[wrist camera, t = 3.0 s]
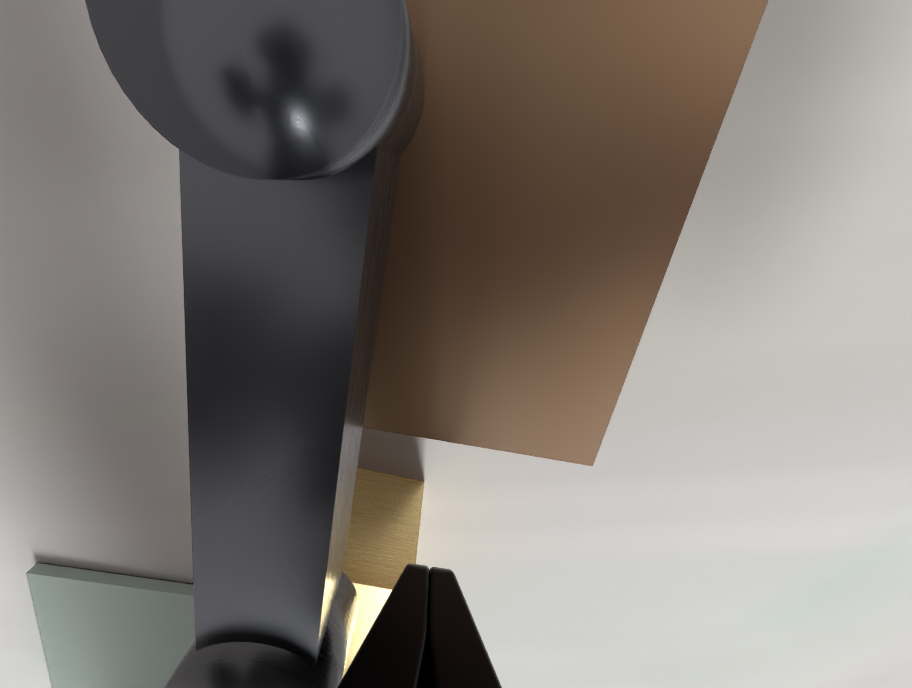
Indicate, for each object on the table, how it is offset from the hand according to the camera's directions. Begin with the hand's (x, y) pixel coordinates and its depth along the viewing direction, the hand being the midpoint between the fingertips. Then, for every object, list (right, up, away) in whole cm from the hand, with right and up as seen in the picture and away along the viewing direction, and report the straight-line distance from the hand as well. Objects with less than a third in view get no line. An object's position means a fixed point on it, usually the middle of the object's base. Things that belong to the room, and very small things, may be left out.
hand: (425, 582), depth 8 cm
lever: (-2, +3, -1) cm, 4 cm away
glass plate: (-11, -8, +8) cm, 16 cm away
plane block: (0, +8, +3) cm, 8 cm away
